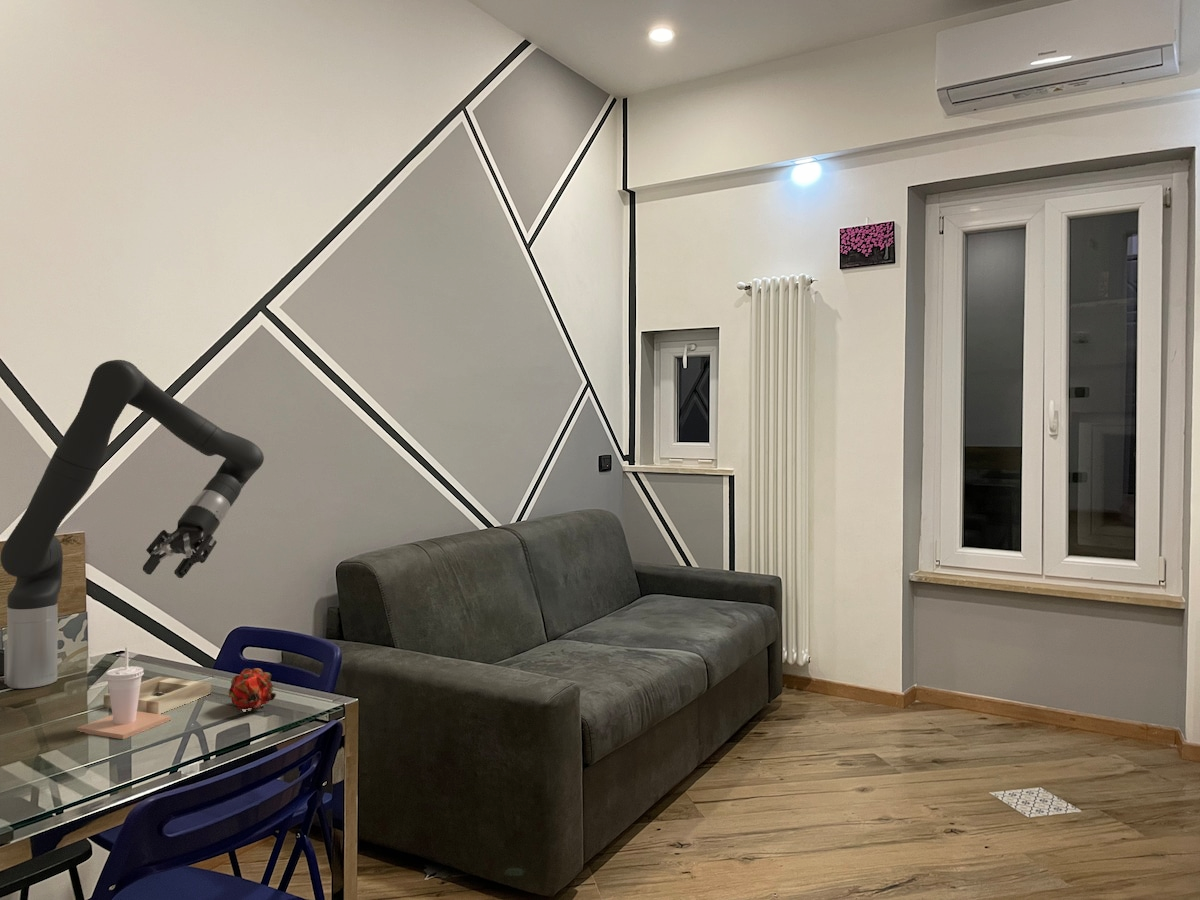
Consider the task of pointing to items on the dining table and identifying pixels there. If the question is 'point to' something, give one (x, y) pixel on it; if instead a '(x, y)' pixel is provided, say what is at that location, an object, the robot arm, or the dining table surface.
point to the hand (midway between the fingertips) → (161, 574)
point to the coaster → (124, 725)
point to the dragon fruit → (251, 689)
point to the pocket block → (175, 697)
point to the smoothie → (124, 691)
